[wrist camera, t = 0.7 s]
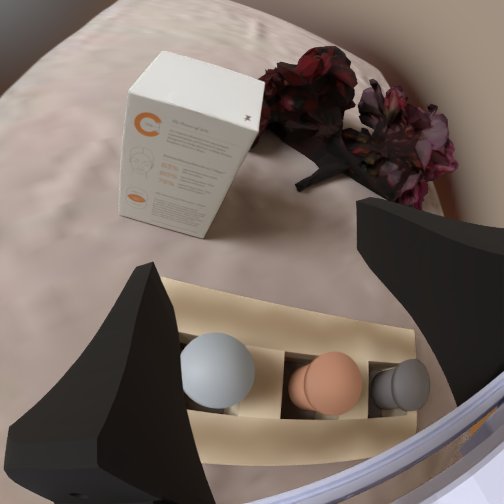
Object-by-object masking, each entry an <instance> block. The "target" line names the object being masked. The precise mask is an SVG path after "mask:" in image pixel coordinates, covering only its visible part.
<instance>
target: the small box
mask: <svg viewBox="0 0 504 504" xmlns="http://www.w3.org/2000/svg"><path fill="white" fill-rule="evenodd" d="M264 87H265V82H263V81H260V80H258V79H255V78H252V77H249V76H246V75H244V74H241V73H238V72H235V71H232V70H229V69H226V68H223V67H220V66H216V65H213V64H210V63H207V62H203V61H200V60H196V59H193V58H189V57H186V56H182V55H178V54H174V53H171V52H167V51H162V52H161V53H160V54H159V55H158V56H157V57H156V59H155V60H154V61H153V62H152V63H151V64H150V65H149V66H148V68H147V69H146V70H145V71H144V72H143V73H142V75H141V76H140V77H139V78H138V79H137V81H136V82H135V83H134V84H133V86H132V87H131V88H130V89H129V90H128V94H127V104H126V112H125V121H124V131H123V141H122V153H121V167H120V182H119V215H121V216H125V217H128V218H132V219H135V220H139V221H142V222H146V223H149V224H153V225H156V226H160V227H163V228H167V229H170V230H174V231H177V232H181V233H185V234H188V235H191V236H195V237H199V238H204V237H205V235H206V233H207V231H208V229H209V227H210V225H211V223H212V221H213V219H214V218H215V216H216V214H217V212H218V210H219V208H220V206H221V204H222V202H223V200H224V198H225V196H226V194H227V192H228V190H229V188H230V186H231V184H232V182H233V180H234V178H235V176H236V174H237V172H238V170H239V168H240V166H241V165H242V163H243V161H244V159H245V157H246V155H247V153H248V151H249V150H250V148H251V146H252V144H253V142H254V140H255V138H256V137H257V135H258V133H259V125H260V116H261V108H262V101H263V94H264Z"/></svg>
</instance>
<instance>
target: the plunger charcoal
mask: <svg viewBox="0 0 504 504" xmlns="http://www.w3.org/2000/svg"><path fill="white" fill-rule="evenodd" d="M429 391H430V380H429V375H428V372H427V370H426V368H425V366H424V365H423V364H422V363H421V362H420V361H419V360H416V359H409V360H405V361H403V362H401V363H400V364H399V365H398V366H397V367H396V368H393V369H389V370H385V371H381V372H379V373H378V374H377V375H376V376H375V377H374V379H373V381H372V384H371V398H372V400H373V403H374V404H375V405H376V406H377V407H378V408H379V409H382V410H387V409H396V408H400V409H401V410H403V411H416V410H419V409H420V408H421V407H423V405H424V404H425V403H426V401H427V398H428V395H429Z"/></svg>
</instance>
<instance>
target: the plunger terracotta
mask: <svg viewBox="0 0 504 504" xmlns="http://www.w3.org/2000/svg"><path fill="white" fill-rule="evenodd" d="M361 390H362V378H361V373H360V371H359V368H358V366H357V365H356V363H355V362H354V360H353V359H352V358H351V357H349V356H348V355H346V354H344V353H342V352H336V351H333V352H328V353H325V354H322V355H320V356H318V357H316V358H315V359H314V360H313V361H312V362H311V363H310V364H308V365H304V366H301V367H299V368H297V369H296V370H295V371H294V372H293V374H292V375H291V377H290V379H289V383H288V393H289V396H290V399H291V401H292V402H293V404H294V405H295V406H297V407H298V408H299V409H302V410H305V411H317V412H319V413H321V414H323V415H329V416H333V415H342V414H344V413H346V412H348V411H350V410H351V409H352V408H353V407H354V406H355V404H356V403H357V401H358V400H359V397H360V394H361Z"/></svg>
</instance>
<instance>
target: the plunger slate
mask: <svg viewBox="0 0 504 504" xmlns="http://www.w3.org/2000/svg"><path fill="white" fill-rule="evenodd" d="M180 357H181V370H182V382H183V391H184V393H185V394H186V395H188V396H189V397H190V398H191V399H192V400H193V401H195V402H196V403H198V404H200V405H202V406H205V407H209V408H227V407H230V406H233V405H235V404H237V403H239V402H240V401H242V400H243V399H244V398H245V397H246V396H247V394H248V393H249V392H250V390H251V388H252V386H253V383H254V378H255V366H254V362H253V359H252V356H251V354H250V352H249V351H248V349H247V348H246V347H245V346H244V345H243V344H242V343H241V342H240V341H239V340H237V339H236V338H234V337H232V336H230V335H228V334H224V333H216V332H213V333H206V334H203V335H200V336H198V337H197V338H195V339H194V340H192V341H191V342H190V343H189V344H188V345H187V346H186V347H185V348H184V350H183V351H182V353H181V355H180Z"/></svg>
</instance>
